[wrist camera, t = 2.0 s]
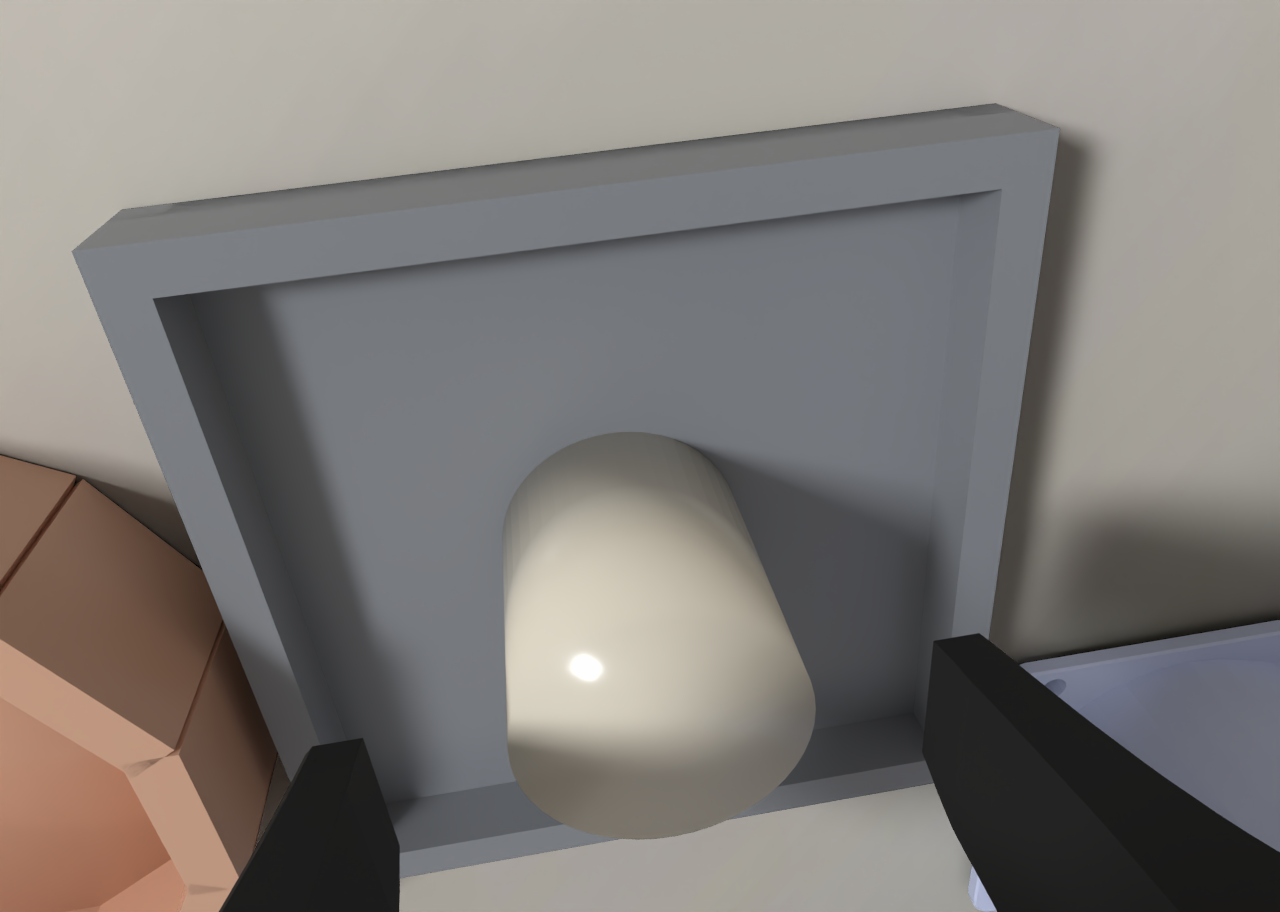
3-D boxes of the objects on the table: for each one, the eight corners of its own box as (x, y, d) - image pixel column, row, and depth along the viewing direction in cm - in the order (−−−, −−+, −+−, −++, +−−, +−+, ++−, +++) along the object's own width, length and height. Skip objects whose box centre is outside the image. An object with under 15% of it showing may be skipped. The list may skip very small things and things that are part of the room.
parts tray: (995, 103, 14) (1059, 128, 12) (932, 710, 20) (969, 776, 19) (121, 209, 13) (71, 251, 11) (346, 810, 19) (334, 889, 18)
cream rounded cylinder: (733, 415, 15) (817, 590, 11) (740, 607, 17) (814, 811, 13) (483, 450, 15) (482, 643, 11) (521, 642, 17) (531, 862, 13)
